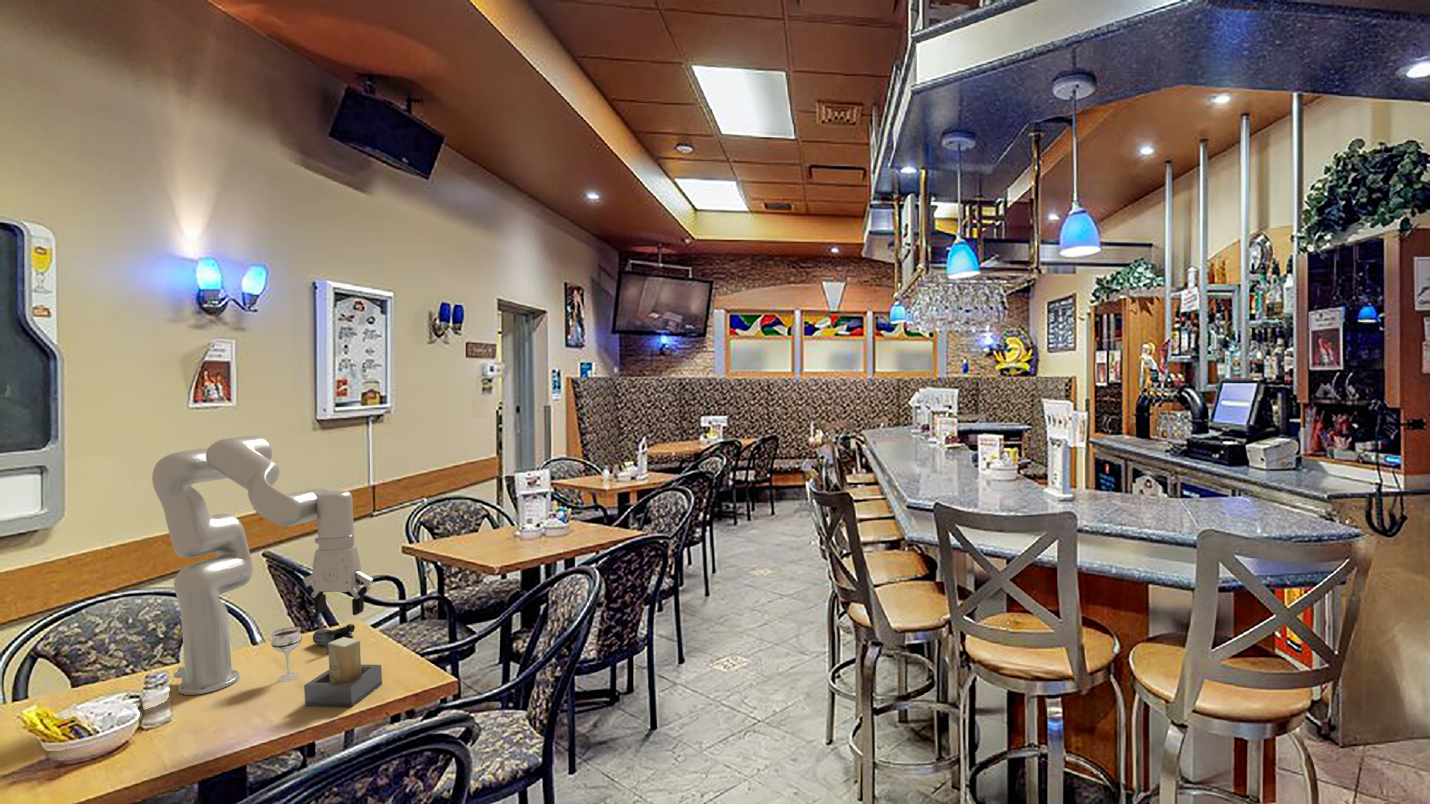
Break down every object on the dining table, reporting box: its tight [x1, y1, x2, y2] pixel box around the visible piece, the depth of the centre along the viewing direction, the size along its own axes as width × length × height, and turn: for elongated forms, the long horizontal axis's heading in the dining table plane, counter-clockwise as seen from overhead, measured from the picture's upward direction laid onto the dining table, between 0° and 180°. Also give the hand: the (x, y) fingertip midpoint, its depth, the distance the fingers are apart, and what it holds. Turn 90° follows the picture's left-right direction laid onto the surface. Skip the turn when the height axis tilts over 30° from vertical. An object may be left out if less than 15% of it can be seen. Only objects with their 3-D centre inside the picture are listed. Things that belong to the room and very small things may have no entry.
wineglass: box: [270, 626, 303, 682], centre depth 177 cm, size 7×7×12 cm
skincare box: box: [328, 637, 362, 683], centre depth 166 cm, size 6×4×12 cm
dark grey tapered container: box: [312, 623, 356, 655], centre depth 197 cm, size 9×8×12 cm
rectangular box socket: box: [303, 664, 383, 708], centre depth 166 cm, size 12×12×5 cm
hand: (339, 612), depth 165 cm, fingers open, 9 cm apart
